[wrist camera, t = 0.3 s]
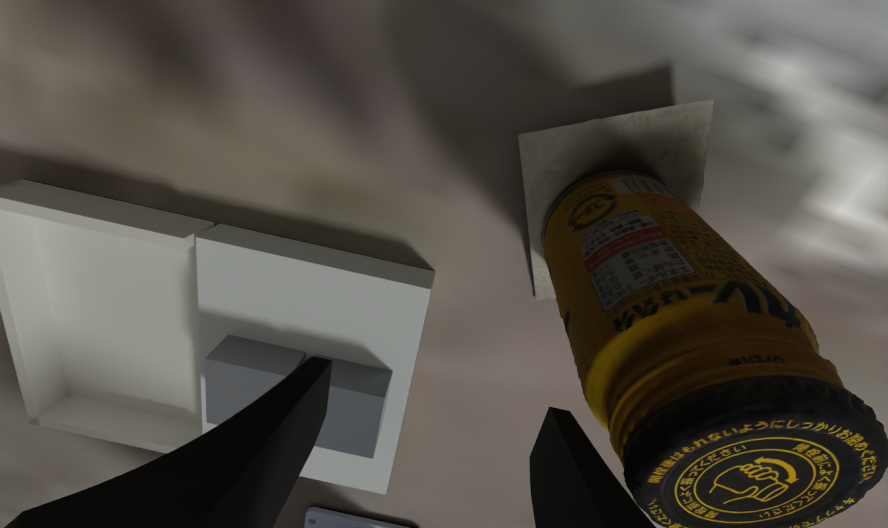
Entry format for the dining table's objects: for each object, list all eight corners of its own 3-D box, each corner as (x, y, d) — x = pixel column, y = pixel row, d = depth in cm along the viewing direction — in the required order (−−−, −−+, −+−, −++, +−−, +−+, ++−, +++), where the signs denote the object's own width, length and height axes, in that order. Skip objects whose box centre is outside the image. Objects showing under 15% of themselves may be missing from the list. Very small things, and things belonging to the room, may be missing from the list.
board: (392, 466, 27) (385, 494, 25) (222, 429, 27) (203, 455, 25) (435, 271, 21) (431, 289, 20) (220, 223, 21) (195, 237, 19)
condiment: (535, 299, 22) (597, 568, 11) (517, 133, 17) (590, 329, 7) (688, 278, 20) (906, 555, 10) (709, 96, 16) (1121, 266, 6)
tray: (217, 428, 27) (194, 459, 25) (66, 395, 27) (29, 423, 25) (214, 222, 21) (183, 238, 19) (23, 179, 21) (-31, 190, 19)
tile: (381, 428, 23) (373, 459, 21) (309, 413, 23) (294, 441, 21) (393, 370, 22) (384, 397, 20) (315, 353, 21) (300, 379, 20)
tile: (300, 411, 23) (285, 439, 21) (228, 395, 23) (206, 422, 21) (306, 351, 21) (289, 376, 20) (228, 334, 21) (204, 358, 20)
